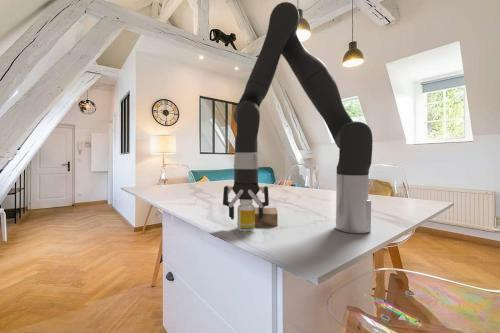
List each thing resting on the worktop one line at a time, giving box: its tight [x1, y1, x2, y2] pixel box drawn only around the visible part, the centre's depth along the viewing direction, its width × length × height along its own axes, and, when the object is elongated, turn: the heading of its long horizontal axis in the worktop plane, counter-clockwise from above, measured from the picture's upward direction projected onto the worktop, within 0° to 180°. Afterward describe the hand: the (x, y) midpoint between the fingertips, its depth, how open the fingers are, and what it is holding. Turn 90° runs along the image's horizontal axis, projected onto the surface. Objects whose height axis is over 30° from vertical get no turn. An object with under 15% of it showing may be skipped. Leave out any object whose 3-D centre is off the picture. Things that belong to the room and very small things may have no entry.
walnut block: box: [254, 206, 279, 227], centre depth 82 cm, size 10×10×4 cm
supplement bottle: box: [237, 199, 256, 232], centre depth 73 cm, size 5×5×10 cm
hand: (246, 219), depth 73 cm, fingers open, 8 cm apart
